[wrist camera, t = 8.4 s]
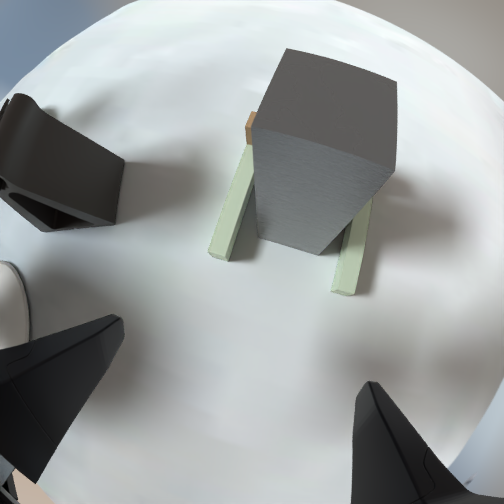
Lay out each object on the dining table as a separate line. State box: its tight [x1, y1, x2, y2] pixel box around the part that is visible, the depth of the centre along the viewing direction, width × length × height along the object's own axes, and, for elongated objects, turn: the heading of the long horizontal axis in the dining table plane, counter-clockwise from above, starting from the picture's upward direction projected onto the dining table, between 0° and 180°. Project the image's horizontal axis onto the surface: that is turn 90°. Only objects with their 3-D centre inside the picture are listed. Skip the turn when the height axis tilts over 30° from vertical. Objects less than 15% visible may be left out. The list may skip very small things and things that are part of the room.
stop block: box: [251, 48, 397, 255], centre depth 14 cm, size 4×4×12 cm
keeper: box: [208, 111, 373, 296], centre depth 18 cm, size 10×10×4 cm
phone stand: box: [0, 93, 124, 232], centre depth 15 cm, size 9×6×12 cm, turn 91°
